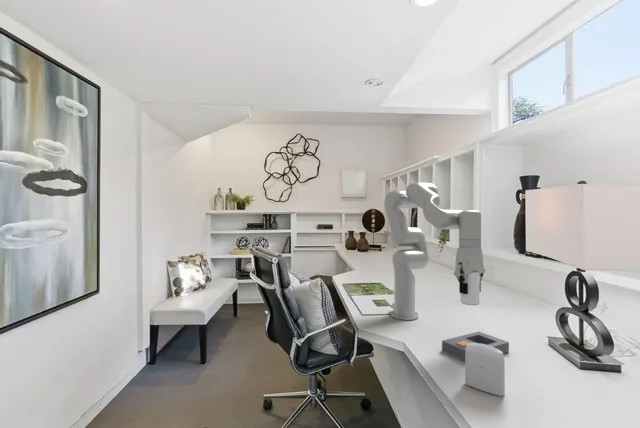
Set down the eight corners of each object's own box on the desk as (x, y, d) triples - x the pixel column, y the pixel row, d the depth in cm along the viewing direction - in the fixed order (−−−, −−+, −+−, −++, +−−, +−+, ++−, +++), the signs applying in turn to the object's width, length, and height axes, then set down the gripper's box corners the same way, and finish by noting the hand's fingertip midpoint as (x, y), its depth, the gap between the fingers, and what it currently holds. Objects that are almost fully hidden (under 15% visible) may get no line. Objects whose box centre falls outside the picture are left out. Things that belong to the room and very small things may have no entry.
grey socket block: (442, 350, 121) (442, 339, 121) (478, 340, 130) (478, 330, 130) (471, 363, 110) (471, 351, 110) (508, 352, 119) (508, 341, 119)
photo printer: (462, 385, 97) (463, 342, 96) (468, 379, 100) (468, 338, 100) (502, 398, 90) (502, 352, 89) (506, 392, 93) (507, 347, 93)
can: (468, 306, 120) (468, 272, 120) (456, 301, 126) (456, 269, 126) (483, 304, 122) (483, 271, 122) (471, 300, 128) (471, 268, 128)
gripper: (476, 242, 131) (476, 288, 131) (445, 243, 123) (445, 292, 123) (494, 243, 125) (494, 292, 125) (462, 245, 117) (462, 297, 117)
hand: (470, 292), depth 124 cm, fingers closed on can, 6 cm apart
